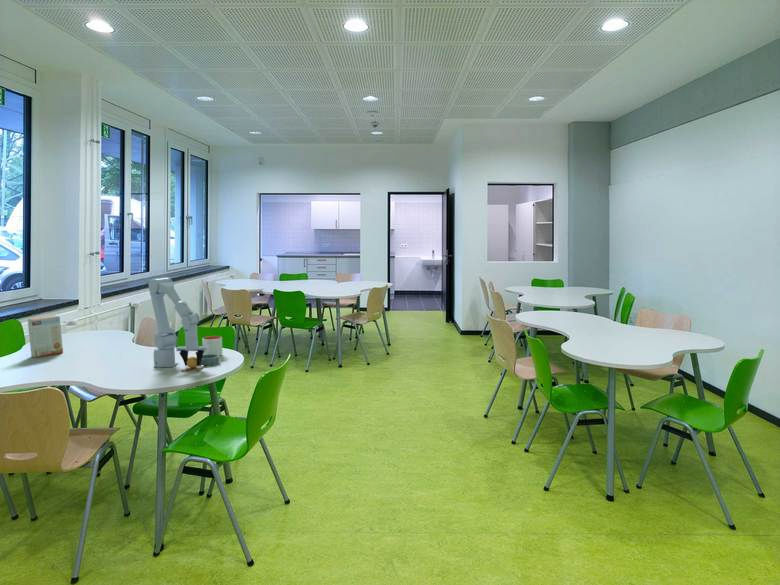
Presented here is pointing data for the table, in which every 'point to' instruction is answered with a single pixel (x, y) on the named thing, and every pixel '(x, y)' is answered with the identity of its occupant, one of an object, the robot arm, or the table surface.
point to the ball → (192, 362)
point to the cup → (213, 345)
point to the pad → (192, 368)
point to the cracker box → (45, 336)
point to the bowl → (209, 359)
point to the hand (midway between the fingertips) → (192, 365)
